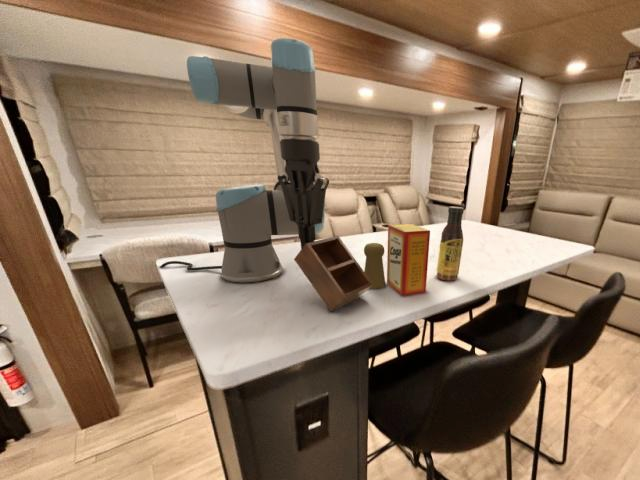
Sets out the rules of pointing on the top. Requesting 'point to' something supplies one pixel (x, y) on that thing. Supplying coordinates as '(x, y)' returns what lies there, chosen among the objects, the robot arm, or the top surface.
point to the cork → (374, 264)
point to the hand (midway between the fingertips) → (308, 254)
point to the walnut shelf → (333, 271)
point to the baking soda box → (407, 258)
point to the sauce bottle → (451, 246)
